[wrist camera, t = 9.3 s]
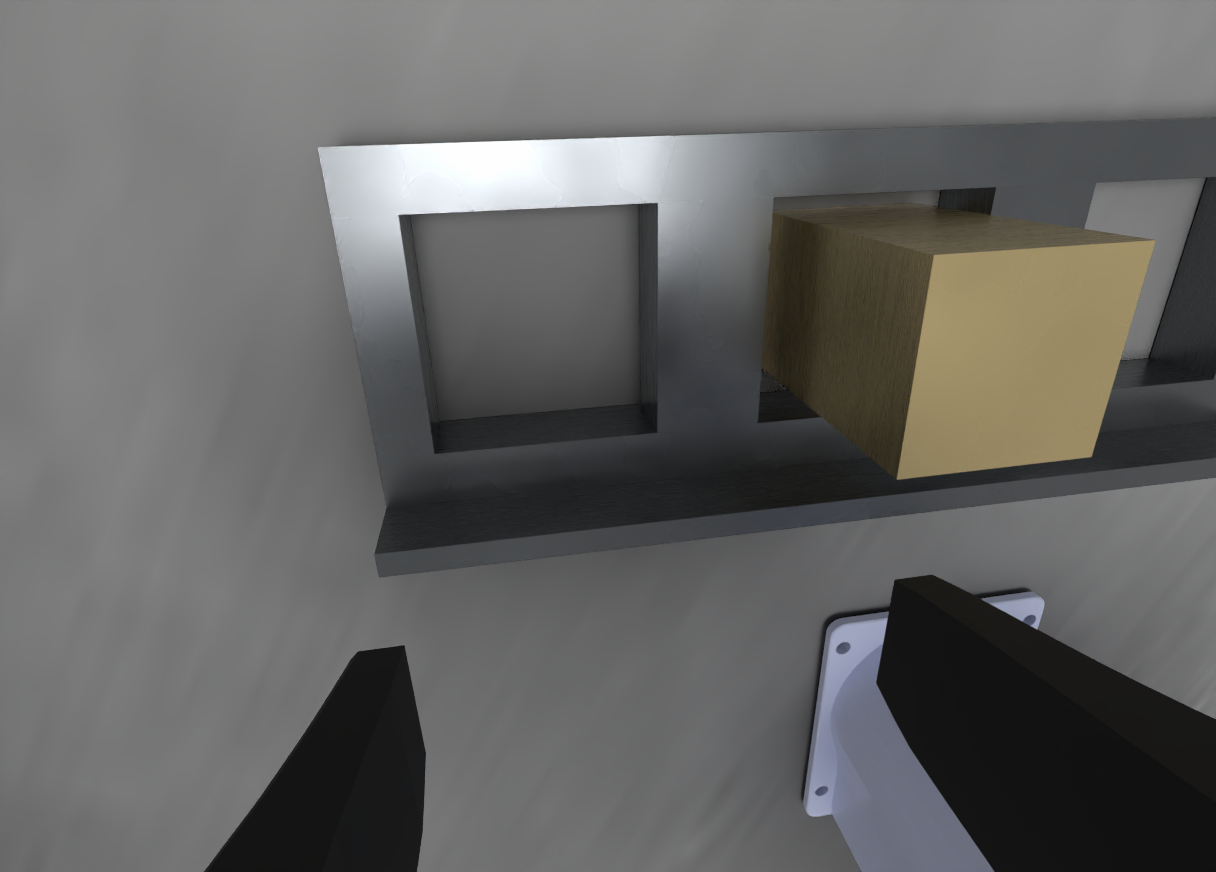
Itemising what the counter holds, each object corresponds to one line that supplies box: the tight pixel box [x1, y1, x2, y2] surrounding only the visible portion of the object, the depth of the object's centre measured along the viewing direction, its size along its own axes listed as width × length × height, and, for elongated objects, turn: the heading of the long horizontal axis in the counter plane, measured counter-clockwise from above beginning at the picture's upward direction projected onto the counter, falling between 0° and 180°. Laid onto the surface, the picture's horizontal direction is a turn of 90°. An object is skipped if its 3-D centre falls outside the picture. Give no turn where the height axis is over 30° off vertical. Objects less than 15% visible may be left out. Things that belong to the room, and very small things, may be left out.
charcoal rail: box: [318, 118, 1216, 577], centre depth 16 cm, size 9×24×4 cm, turn 91°
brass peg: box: [762, 203, 1156, 480], centre depth 15 cm, size 4×4×7 cm
